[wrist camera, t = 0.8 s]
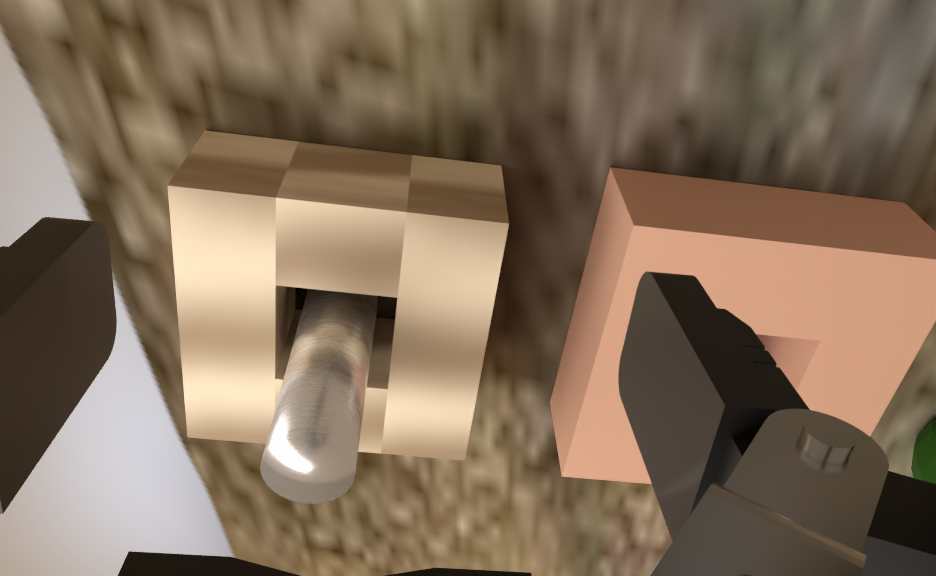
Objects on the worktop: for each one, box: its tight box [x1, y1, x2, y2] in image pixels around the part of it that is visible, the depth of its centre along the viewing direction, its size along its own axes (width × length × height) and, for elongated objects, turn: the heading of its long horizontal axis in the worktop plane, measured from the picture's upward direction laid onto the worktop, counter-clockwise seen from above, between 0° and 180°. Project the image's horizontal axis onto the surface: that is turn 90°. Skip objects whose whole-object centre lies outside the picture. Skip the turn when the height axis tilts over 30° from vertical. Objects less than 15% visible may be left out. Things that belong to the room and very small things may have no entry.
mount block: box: [168, 131, 509, 460], centre depth 33 cm, size 12×12×5 cm
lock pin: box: [260, 289, 379, 503], centre depth 30 cm, size 3×3×12 cm
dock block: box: [550, 167, 936, 484], centre depth 35 cm, size 13×13×5 cm
